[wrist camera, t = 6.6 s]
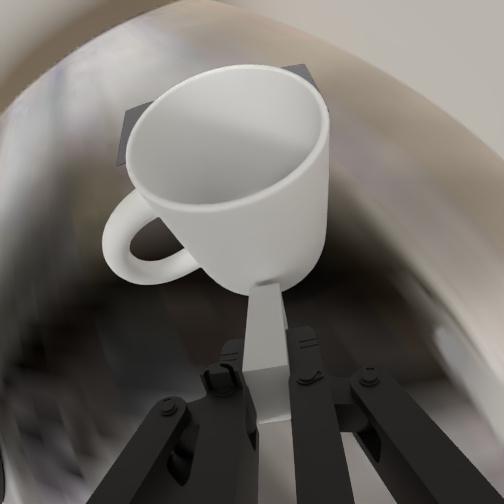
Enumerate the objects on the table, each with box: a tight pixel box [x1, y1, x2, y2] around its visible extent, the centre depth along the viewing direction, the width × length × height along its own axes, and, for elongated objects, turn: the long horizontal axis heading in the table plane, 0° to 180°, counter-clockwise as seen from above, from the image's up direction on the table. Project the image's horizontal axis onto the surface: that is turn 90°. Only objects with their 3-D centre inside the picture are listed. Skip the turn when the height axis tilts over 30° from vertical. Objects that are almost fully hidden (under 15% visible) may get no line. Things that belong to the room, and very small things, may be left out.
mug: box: [102, 64, 330, 296], centre depth 16 cm, size 12×8×10 cm
